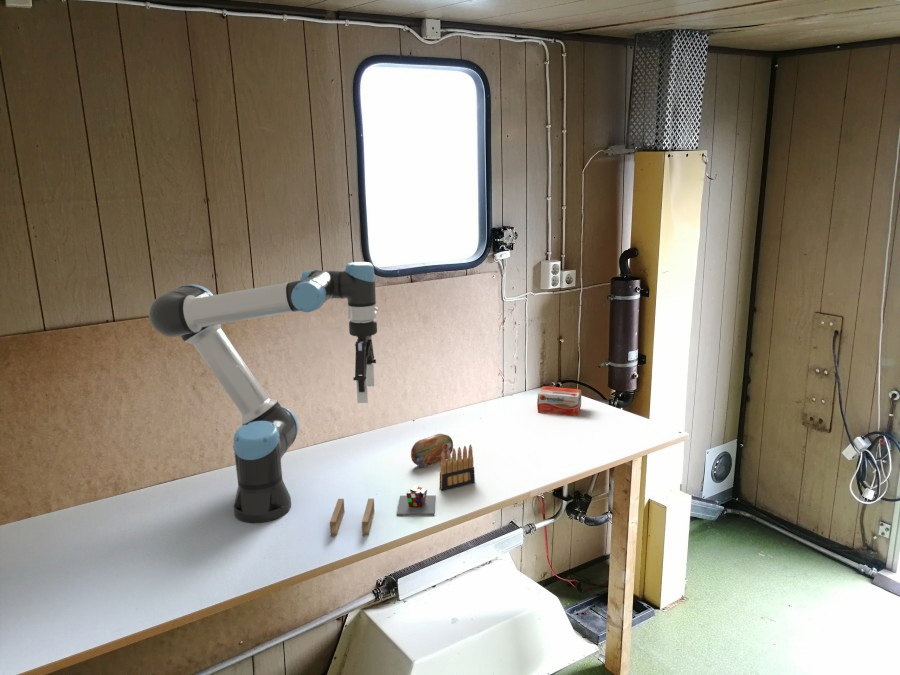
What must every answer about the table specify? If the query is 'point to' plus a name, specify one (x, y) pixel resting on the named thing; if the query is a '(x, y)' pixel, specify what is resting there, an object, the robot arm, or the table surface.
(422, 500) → the rubik's cube
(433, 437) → the tin
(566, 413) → the medicine box
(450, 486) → the ammunition clip
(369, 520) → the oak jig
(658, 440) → the table surface
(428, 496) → the rubber pad
